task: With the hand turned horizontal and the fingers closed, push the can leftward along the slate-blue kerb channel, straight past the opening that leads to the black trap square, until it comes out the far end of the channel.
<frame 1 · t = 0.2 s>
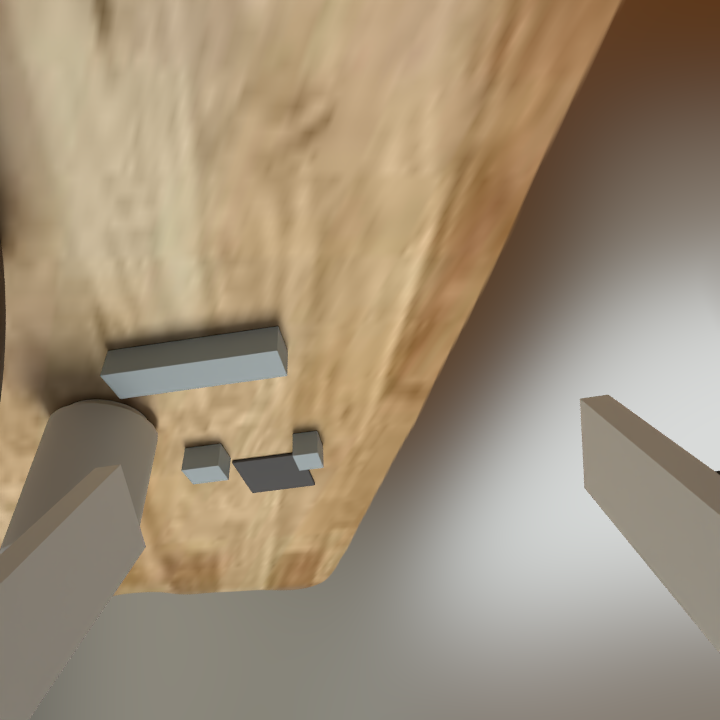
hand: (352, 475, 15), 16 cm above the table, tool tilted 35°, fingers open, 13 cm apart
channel: (230, 405, 38), on the table
can: (108, 419, 39), on the table
trap square: (275, 472, 47), on the table
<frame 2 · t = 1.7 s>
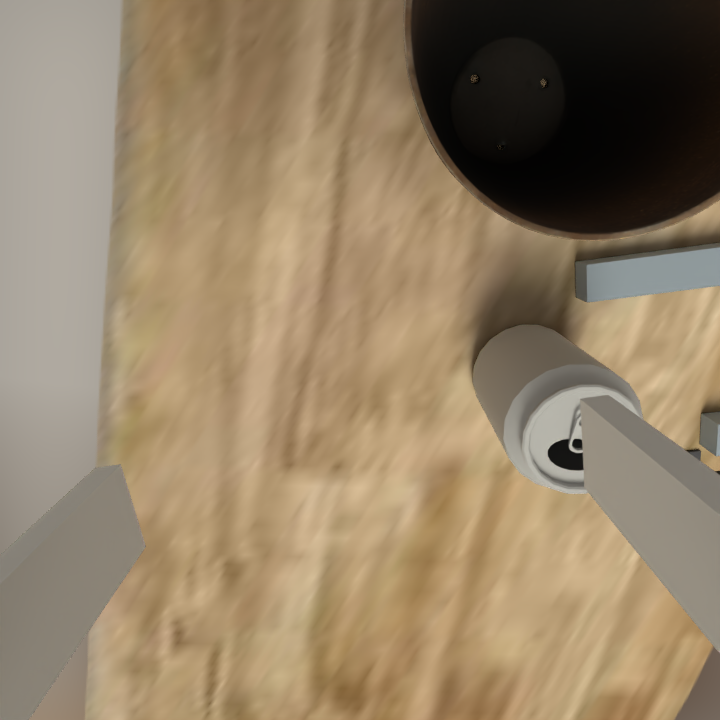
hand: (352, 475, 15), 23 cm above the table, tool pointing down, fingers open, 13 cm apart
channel: (654, 355, 37), on the table
can: (520, 370, 38), on the table
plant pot: (507, 105, 33), on the table
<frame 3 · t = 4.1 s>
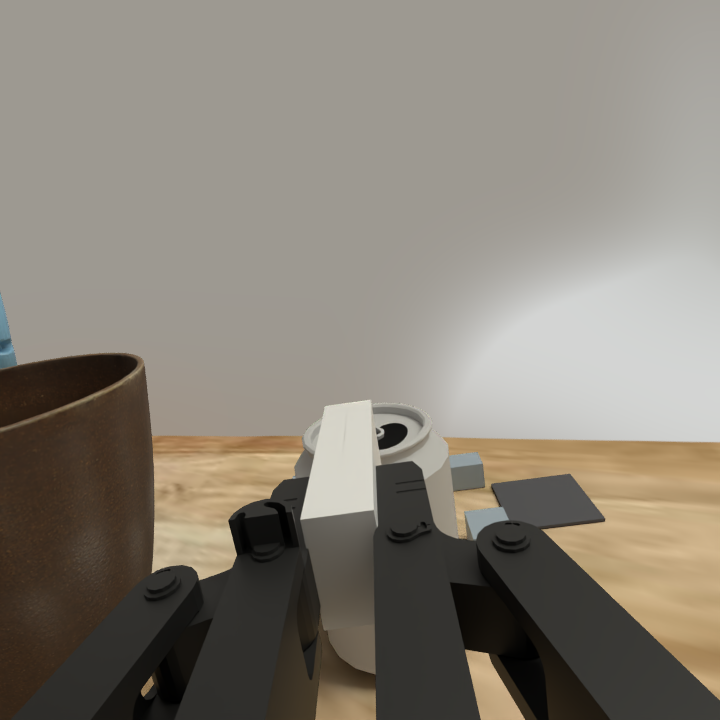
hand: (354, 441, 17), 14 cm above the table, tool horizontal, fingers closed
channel: (390, 525, 37), on the table
can: (399, 631, 28), on the table
trap square: (543, 502, 37), on the table
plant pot: (77, 667, 29), on the table
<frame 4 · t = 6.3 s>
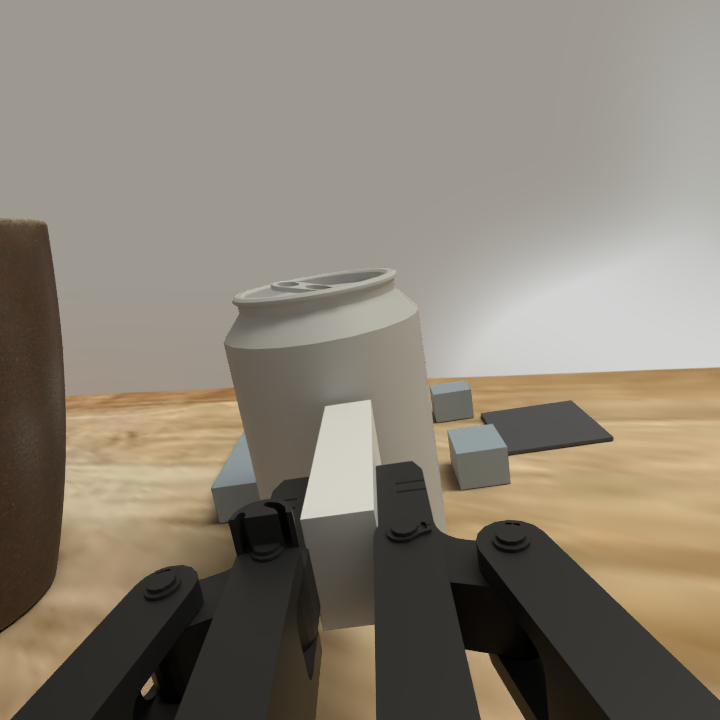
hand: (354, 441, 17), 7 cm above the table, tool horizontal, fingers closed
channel: (363, 455, 32), on the table
can: (363, 554, 23), on the table, touching gripper
trap square: (540, 427, 32), on the table
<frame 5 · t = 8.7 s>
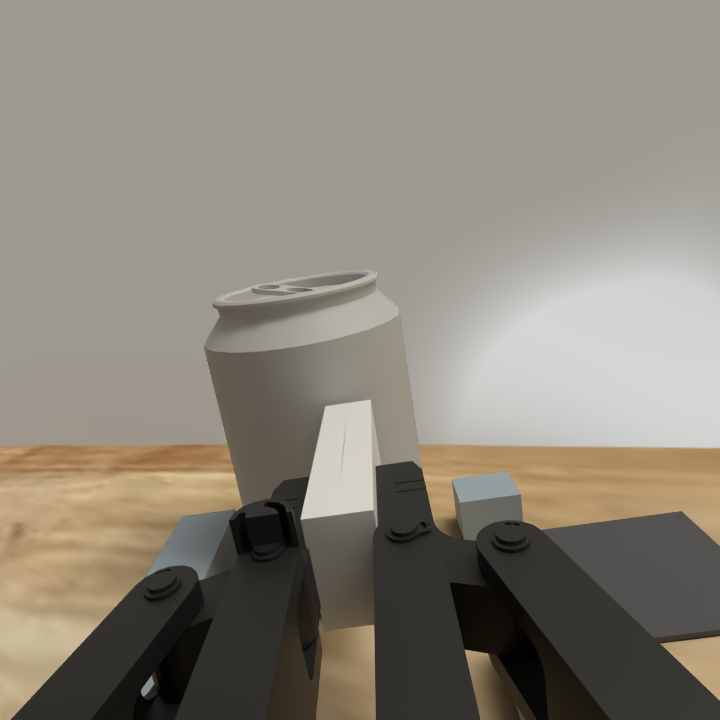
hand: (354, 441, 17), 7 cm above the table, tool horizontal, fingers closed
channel: (345, 621, 19), on the table
can: (347, 558, 22), on the table, touching gripper
trap square: (646, 572, 19), on the table
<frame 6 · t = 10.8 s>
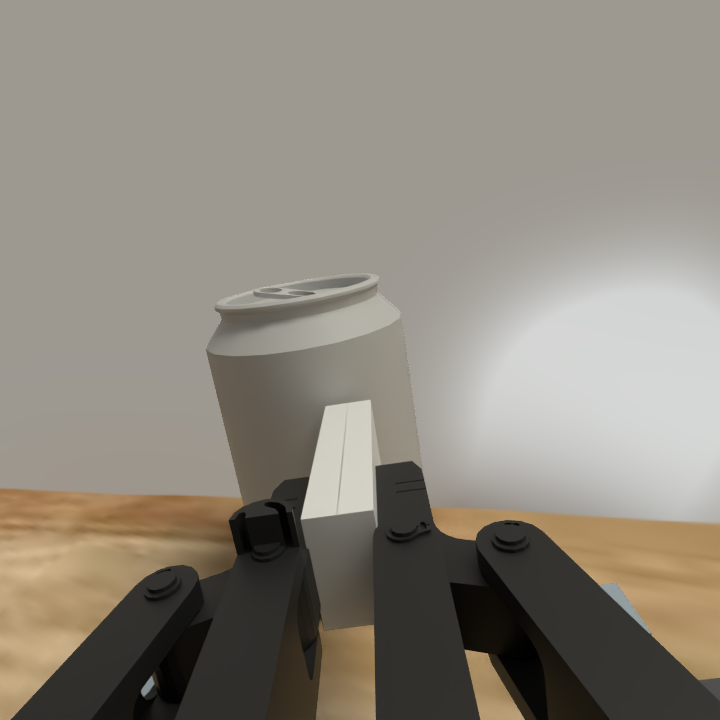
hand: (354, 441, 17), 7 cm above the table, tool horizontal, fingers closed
can: (348, 560, 22), on the table, touching gripper
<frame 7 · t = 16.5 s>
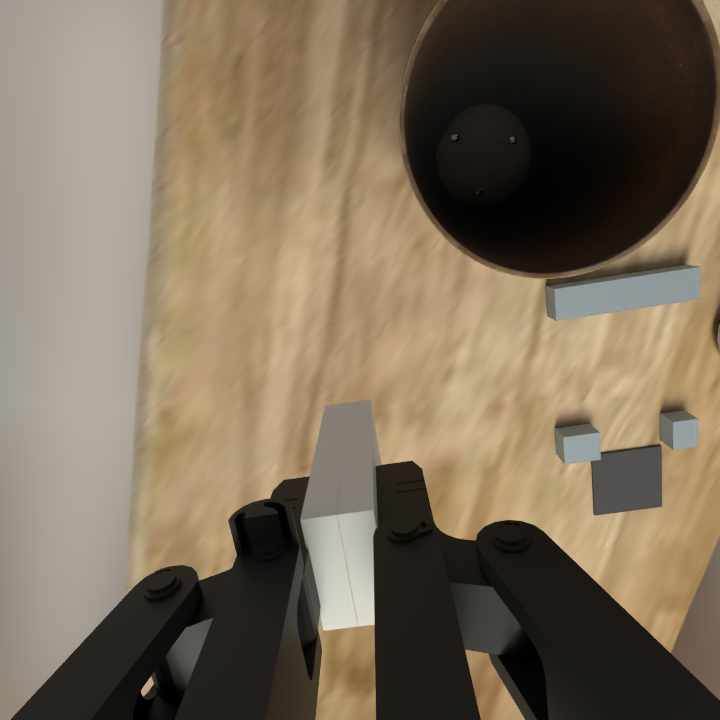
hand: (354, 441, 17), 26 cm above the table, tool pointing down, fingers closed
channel: (617, 364, 43), on the table
trap square: (626, 480, 46), on the table
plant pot: (483, 157, 39), on the table
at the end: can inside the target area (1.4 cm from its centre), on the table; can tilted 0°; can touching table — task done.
